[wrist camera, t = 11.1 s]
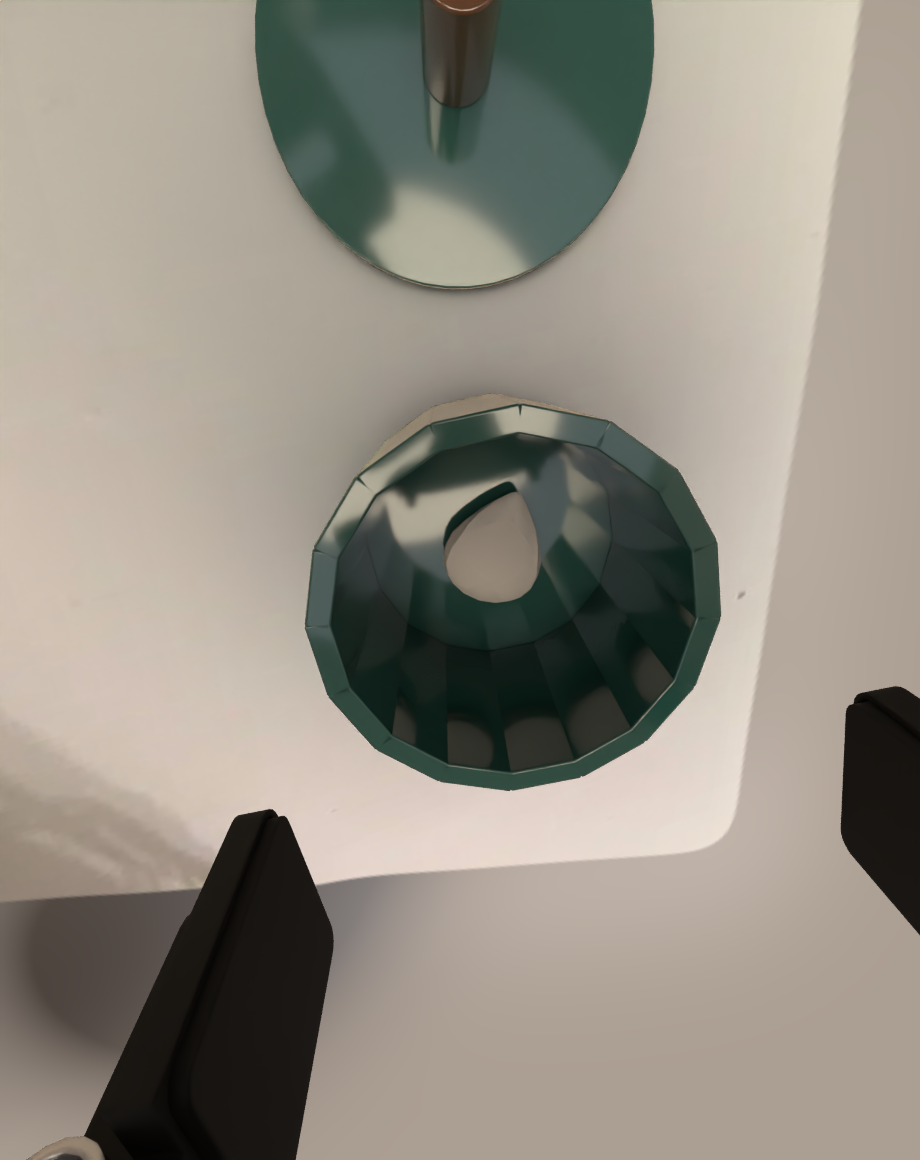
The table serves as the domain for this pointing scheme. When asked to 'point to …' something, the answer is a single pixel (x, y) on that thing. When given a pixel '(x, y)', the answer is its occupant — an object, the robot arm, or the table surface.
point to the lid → (455, 124)
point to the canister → (524, 625)
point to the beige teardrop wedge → (495, 551)
